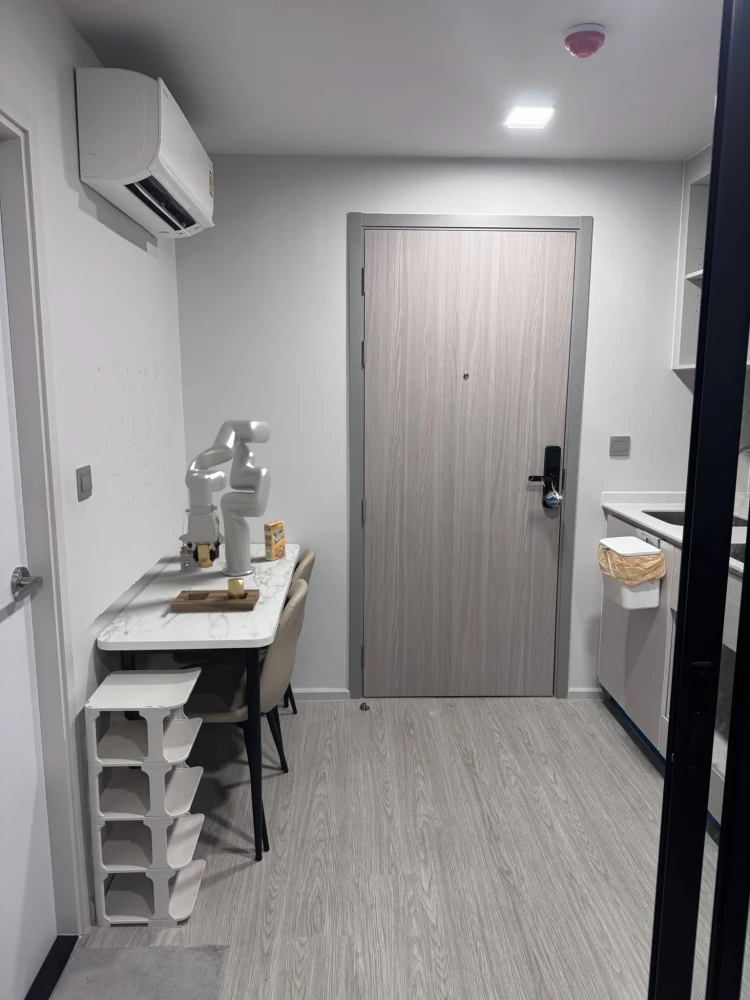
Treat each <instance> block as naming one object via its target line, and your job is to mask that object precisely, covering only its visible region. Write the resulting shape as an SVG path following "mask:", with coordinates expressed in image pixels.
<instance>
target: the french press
mask: <svg viewBox="0 0 750 1000" xmlns="http://www.w3.org/2000/svg"><path fill="white" fill-rule="evenodd" d="M184 512H185V513H190V508H186V509H185V511H184ZM186 535H187V533H183V534H182V535H180V536H179V537H178V540H179V541H181V542H182V540H183V539H184V537H185V536H186ZM179 555H180V556H179V558H180V569H179V571H178V572H179V573H180V574H179V573H178V574H179V575H182V574H183V576H193V574H194V575H198V573H199V574H201V572H202V573H204V572H205V570H204V568H199V567H198V561H197V562H195V559H193V551H192V550H191V549H190V548H189V547H188V546H187V545H186V544H184V543H183V542H182V545H181V547H180V551H179ZM203 571H204V572H203Z"/></svg>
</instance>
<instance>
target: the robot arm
mask: <svg viewBox="0 0 750 1000" xmlns="http://www.w3.org/2000/svg"><path fill="white" fill-rule="evenodd" d="M270 426H271V425H269V423H267V422H266V421H263V420H253V419H229V420H225V421H224V422H223V423H222V424H221V426H220V428H219V430H218V432H217V435H216V437H215V439H214V440H213V443H212V445H211V446H210V447H209V448H207V449H205V450H204V451H202V452H201V453H200V454H198V455H197V456H195V458H193V459H192V461H191V463H190V464H189V466H188V469H187V471H186V474H185V476H184V477H185V478H184V483H185V486H186V487H187V489H188V497H189V499H188V500H189V510H190V512H188V515H187V533H186V534H187V535H186V536H185V537H184V539H183V540H182V541H181V542H182V544H183V543H184V545H185V546H186V545H187V546H188V547H189V548H190V549H191V550H192V551H193V559H195V562H197V561H198V558H197V543H209V542H210V545H211V548H212V550H211V561H212V562H213V563H214V562H215V560H216V558H217V555H216V549H217V548H218V547H219V548H220V546H221V545H222V544H223V543H224V553H225V554H224V555H225V567H223V568H222V569H221V573H222V574H223V575H225V576H230V577H241V576H247V575H251V574H253V573H254V572H255V571H256V568H255V566H253V565H252V561H251V539H250V536H251V535H250V526H249V523H248V522H247V520H246V519H245V518H261V517H263V516H264V514H265V513H266V510H267V507H268V505H267V504H268V500H269V493H270V489H271V473H270V471H269V469H268V468H266V467H264V466H255V465H256V464H255V463H256V454H255V453H254V451H253V449H252V448H251V447H250V446H249V445H248V444H266V443H267V442H268V441H269V440H270V438H271V435H272V430H271V427H270ZM231 460H232V464H231V467H230V474H229V477H228V476H227V474H226V472H224V471H223V470H218V469H210V468H213V467H216V466H218V465H223V464H224V463H228V462H229V461H231ZM228 478H229V479H228ZM228 482H229V486H230V488H231V489H233V490H235V491H228V492H226V493H224V494H223V495H222V496H221V498H220V502H219V503H220V504H219V505H220V511H221V514H222V520H223V532H224V534H222V533H221V532H220V525H219V526H218V520H217V517H218V515H217V513H216V512H215V511H217V510H218V506H217V505H214V503H213V493H215V492H221V491H223V490H224V489H225V488H226V486H227V484H228ZM216 515H217V516H216ZM218 538H219V541H218V542H217V543H216V541H217V539H218ZM217 559H218V558H217Z"/></svg>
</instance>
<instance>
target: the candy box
mask: <svg viewBox="0 0 750 1000" xmlns="http://www.w3.org/2000/svg"><path fill="white" fill-rule="evenodd" d="M263 529H264V531H263V532H264V552H265V554H264V555H265V560H266V561H271V562H273V561H276V560H278V559H282V558H286V554H287V553H286V536H285V535H286V533H285V521H282V520H281V521H280V520H275V521H272V522H268V523H264V524H263Z"/></svg>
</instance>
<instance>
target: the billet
mask: <svg viewBox="0 0 750 1000" xmlns="http://www.w3.org/2000/svg"><path fill="white" fill-rule="evenodd" d="M211 550H212V548H211V545H210V542H209V543H197V558H198V567H199V568H202V569H207V568H211V567H213V566H214V562H212V561H211Z"/></svg>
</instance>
